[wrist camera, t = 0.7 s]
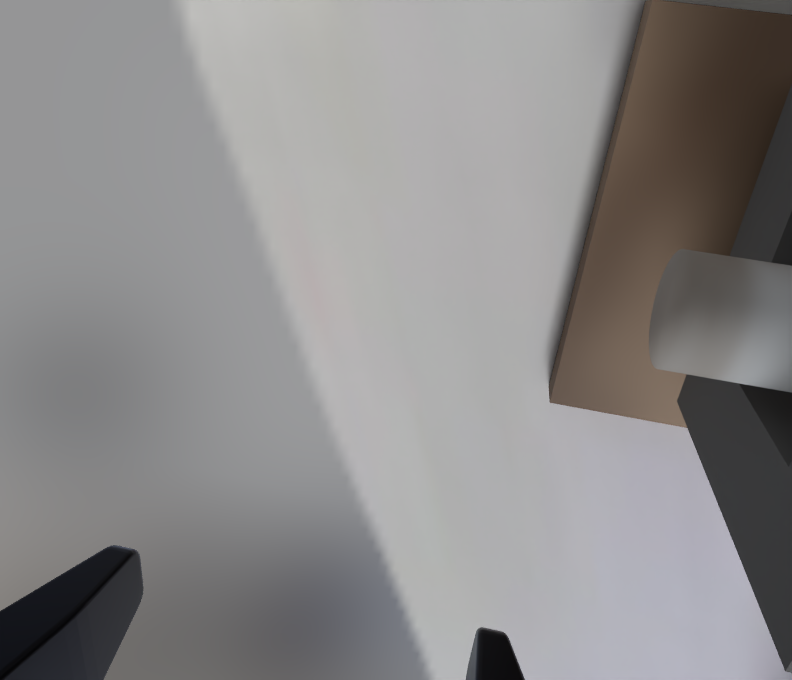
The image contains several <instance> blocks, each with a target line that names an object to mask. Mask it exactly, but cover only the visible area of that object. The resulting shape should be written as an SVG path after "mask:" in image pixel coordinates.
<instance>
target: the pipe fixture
mask: <svg viewBox="0 0 792 680" xmlns="http://www.w3.org/2000/svg"><path fill="white" fill-rule="evenodd" d="M791 85H792V15H787V14H778V13H769V12H760V11H751V10H742V9H734V8H725V7H716V6H707V5H698V4H689V3H680V2H671V1H662V0H647V1H645V5H644V9H643V13H642V17H641V21H640V25H639V29H638V33H637V37H636V41H635V45H634V49H633V53H632V57H631V61H630V65H629V69H628V73H627V77H626V81H625V85H624V89H623V93H622V97H621V101H620V105H619V109H618V113H617V117H616V121H615V125H614V128H613V132H612V136H611V140H610V144H609V148H608V152H607V156H606V160H605V164H604V168H603V172H602V176H601V180H600V184H599V188H598V192H597V196H596V200H595V204H594V208H593V212H592V216H591V220H590V224H589V228H588V232H587V236H586V240H585V244H584V248H583V252H582V256H581V260H580V264H579V268H578V272H577V276H576V280H575V284H574V288H573V292H572V296H571V300H570V304H569V308H568V312H567V316H566V320H565V324H564V328H563V332H562V336H561V340H560V344H559V348H558V352H557V356H556V359H555V363H554V367H553V371H552V375H551V379H550V383H549V398H550V403H555V404H561V405H566V406H571V407H577V408H582V409H588V410H593V411H599V412H604V413H609V414H615V415H620V416H626V417H631V418H637V419H642V420H647V421H653V422H658V423H664V424H669V425H675V426H680V427H685V428H687V425H686V423H685V420H684V418H683V415H682V413H681V410H680V408H679V405H678V403H677V399H678V397H679V394H680V391H681V388H682V386H683V383H684V380H685V377H686V375H687V374H688V375H694V376H700V377H705V378H711V379H717V380H722V381H728V382H734V383H740V384H745V385H751V386H757V387H762V388H768V389H774V390H780V391H785V392H791V393H792V266H790V265H784V264H777V263H771V262H764V261H758V260H751V259H745V258H738V257H732V256H730V253H731V250H732V248H733V245H734V242H735V239H736V237H737V234H738V231H739V228H740V226H741V223H742V220H743V217H744V214H745V212H746V209H747V206H748V203H749V201H750V198H751V195H752V192H753V190H754V187H755V184H756V181H757V179H758V176H759V173H760V170H761V168H762V165H763V162H764V159H765V156H766V154H767V151H768V148H769V145H770V143H771V140H772V137H773V134H774V132H775V129H776V126H777V123H778V121H779V118H780V115H781V112H782V110H783V107H784V104H785V101H786V98H787V96H788V93H789V90H790V87H791Z"/></svg>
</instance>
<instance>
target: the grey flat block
mask: <svg viewBox="0 0 792 680" xmlns="http://www.w3.org/2000/svg"><path fill="white" fill-rule="evenodd" d="M730 256H732V257H738V258H745V259H751V260H758V261H764V262H771V263H777V264H784V265H790V266H792V85H791V87H790V90H789V93H788V96H787V98H786V101H785V104H784V107H783V110H782V112H781V115H780V118H779V121H778V123H777V126H776V129H775V132H774V134H773V137H772V140H771V143H770V145H769V148H768V151H767V154H766V156H765V159H764V162H763V165H762V168H761V170H760V173H759V176H758V179H757V181H756V184H755V187H754V190H753V192H752V195H751V198H750V201H749V203H748V206H747V209H746V212H745V214H744V217H743V220H742V223H741V226H740V228H739V231H738V234H737V237H736V239H735V242H734V245H733V248H732V250H731V253H730ZM677 403H678V405H679V408H680V410H681V413H682V415H683V418H684V420H685V423H686V425H687V428H688V430H689V433H690V435H691V438H692V440H693V443H694V445H695V448H696V450H697V453H698V455H699V458H700V460H701V463H702V465H703V468H704V470H705V473H706V475H707V478H708V480H709V483H710V485H711V487H712V490H713V492H714V495H715V497H716V500H717V502H718V505H719V507H720V510H721V512H722V515H723V517H724V520H725V522H726V525H727V527H728V530H729V532H730V535H731V537H732V540H733V542H734V545H735V547H736V550H737V552H738V555H739V557H740V560H741V562H742V564H743V567H744V569H745V572H746V574H747V577H748V579H749V582H750V584H751V587H752V589H753V592H754V594H755V597H756V599H757V602H758V604H759V607H760V609H761V612H762V614H763V617H764V619H765V622H766V624H767V627H768V629H769V632H770V634H771V637H772V639H773V641H774V644H775V646H776V649H777V651H778V654H779V656H780V659H781V661H782V664H783V666H784V669H785V671H787V672H791V673H792V393H791V392H785V391H780V390H774V389H768V388H762V387H757V386H751V385H745V384H740V383H734V382H728V381H722V380H717V379H711V378H705V377H700V376H694V375H688V374H687V375H686V377H685V380H684V383H683V386H682V388H681V391H680V394H679V397H678V399H677Z"/></svg>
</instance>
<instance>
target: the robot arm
mask: <svg viewBox="0 0 792 680" xmlns="http://www.w3.org/2000/svg"><path fill="white" fill-rule="evenodd" d="M142 595H143V579H142V571H141V561H140V555H139V553H138V552H137V550H135V549H131V548H126V547H122V546H116V545H113V546H110V547H107V548H105V549H103V550H102V551H100V552H98V553H97V554H95V555H93V556H92V557H90V558H88V559H87V560H85V561H83V562H82V563H80V564H78V565H76V566H75V567H73V568H72V569H70V570H68V571H67V572H65V573H63V574H61V575H60V576H58V577H56V578H55V579H53V580H51V581H50V582H48V583H46V584H45V585H43V586H41V587H40V588H38V589H36V590H35V591H33V592H31V593H30V594H28V595H26V596H25V597H23V598H21V599H20V600H18V601H16V602H15V603H13V604H11V605H10V606H8V607H6V608H5V609H3V610H1V611H0V680H104V677H105V675H106V673H107V671H108V669H109V667H110V665H111V663H112V661H113V659H114V657H115V654H116V652H117V650H118V648H119V646H120V644H121V642H122V640H123V638H124V636H125V634H126V632H127V629H128V627H129V625H130V623H131V621H132V619H133V617H134V615H135V613H136V611H137V609H138V606H139V604H140V602H141V599H142ZM466 680H525V679H524V676H523V674H522V671H521V669H520V666H519V664H518V661H517V658H516V656H515V653H514V651H513V648H512V646H511V643H510V641H509V638H508V637H507V635H506V634H505V633H504V632H501V631H497V630H492V629H488V628H483V627H481V628H478V630H477V631H476V635H475V639H474V643H473V647H472V652H471V656H470V660H469V664H468V669H467V676H466Z"/></svg>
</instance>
